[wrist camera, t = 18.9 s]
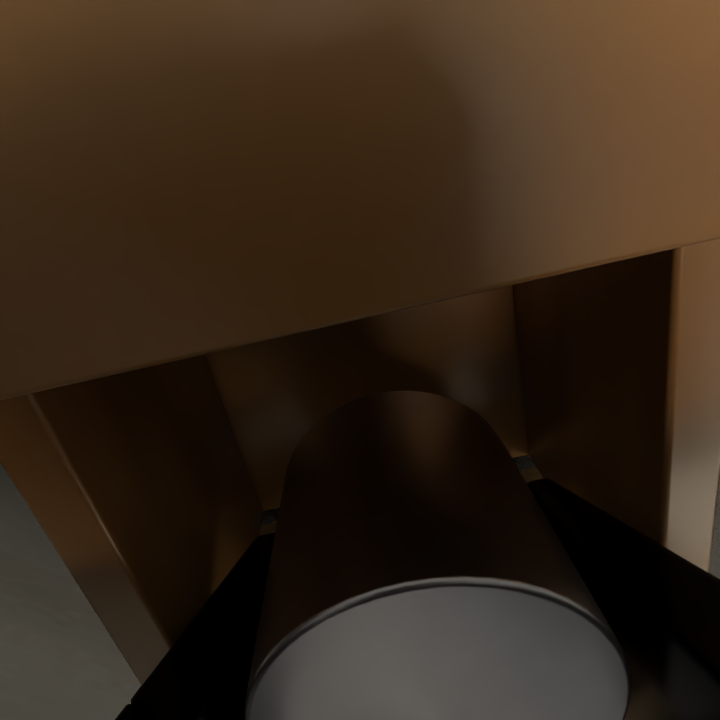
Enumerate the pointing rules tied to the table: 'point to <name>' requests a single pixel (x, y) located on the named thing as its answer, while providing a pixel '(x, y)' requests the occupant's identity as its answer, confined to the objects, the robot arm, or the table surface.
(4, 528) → the table surface
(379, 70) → the cabinet
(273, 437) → the drawer
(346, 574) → the tin
